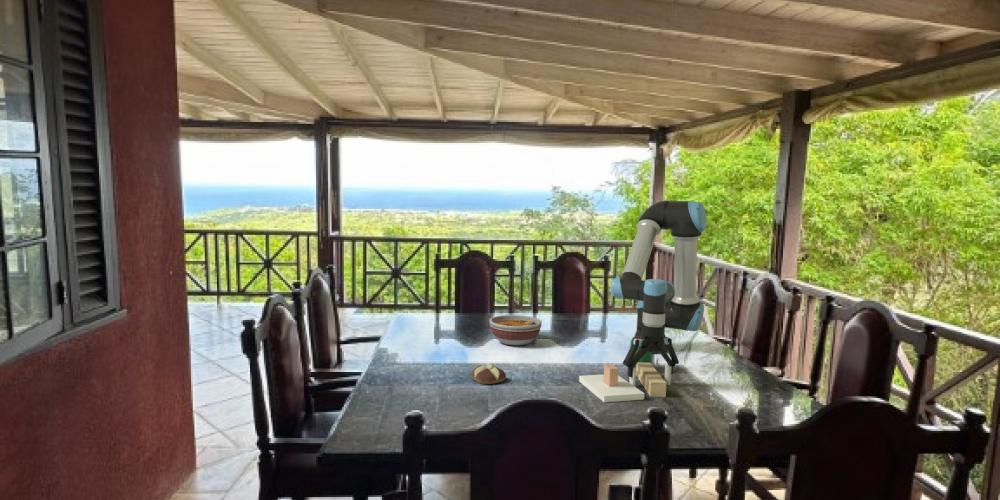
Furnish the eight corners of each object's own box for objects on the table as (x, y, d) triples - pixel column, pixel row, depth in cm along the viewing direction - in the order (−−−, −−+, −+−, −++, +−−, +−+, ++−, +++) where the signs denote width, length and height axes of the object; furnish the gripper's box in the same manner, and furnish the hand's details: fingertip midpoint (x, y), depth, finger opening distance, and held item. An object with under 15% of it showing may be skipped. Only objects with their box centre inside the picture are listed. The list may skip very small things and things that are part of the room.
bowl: (550, 341, 244) (550, 319, 243) (524, 353, 225) (525, 329, 224) (506, 333, 256) (507, 312, 255) (478, 343, 237) (479, 321, 236)
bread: (467, 377, 193) (468, 363, 193) (497, 373, 198) (497, 360, 197) (479, 387, 183) (479, 372, 183) (510, 383, 188) (510, 369, 187)
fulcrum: (615, 379, 195) (616, 357, 194) (644, 399, 176) (645, 375, 175) (579, 381, 191) (580, 359, 191) (604, 402, 172) (605, 377, 171)
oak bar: (635, 375, 201) (636, 362, 200) (649, 376, 201) (650, 362, 200) (650, 397, 179) (651, 382, 178) (665, 397, 179) (666, 383, 178)
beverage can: (636, 365, 212) (637, 335, 211) (654, 370, 206) (656, 339, 205) (624, 369, 206) (626, 338, 205) (643, 375, 201) (645, 343, 200)
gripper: (679, 321, 194) (675, 379, 196) (615, 323, 188) (611, 383, 190) (691, 326, 187) (687, 386, 189) (625, 328, 181) (622, 390, 183)
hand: (649, 384), depth 189 cm, fingers open, 13 cm apart
